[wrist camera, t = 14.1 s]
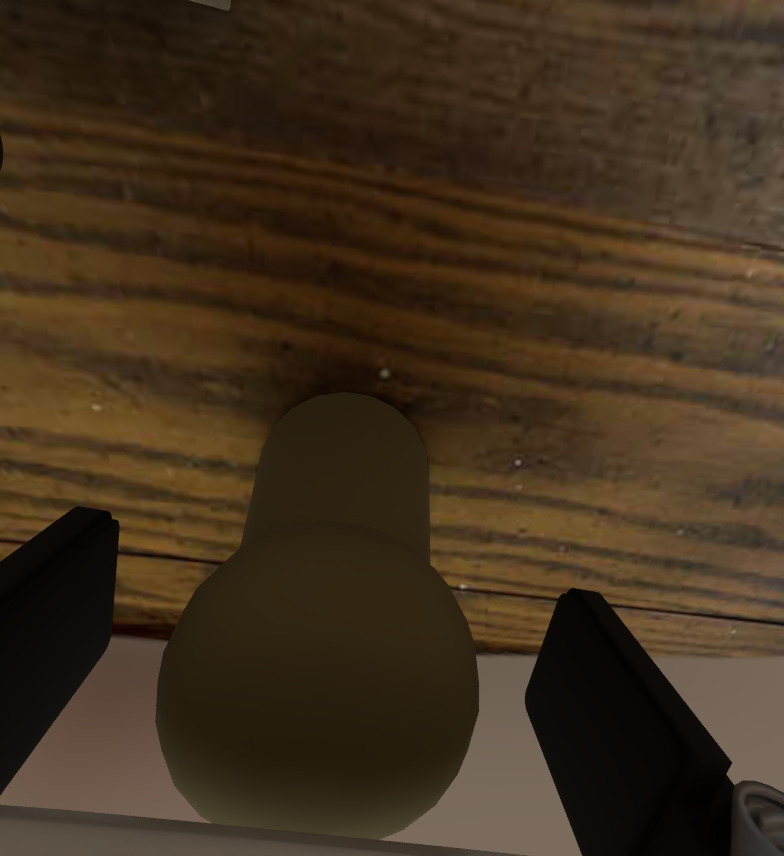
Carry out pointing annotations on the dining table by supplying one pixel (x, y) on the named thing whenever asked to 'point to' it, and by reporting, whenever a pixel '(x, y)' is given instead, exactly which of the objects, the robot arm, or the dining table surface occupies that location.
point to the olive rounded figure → (324, 641)
